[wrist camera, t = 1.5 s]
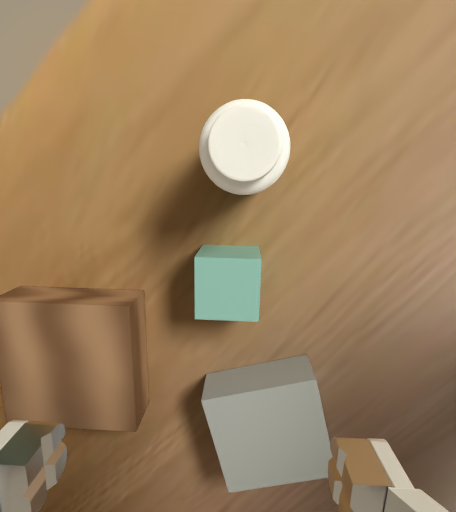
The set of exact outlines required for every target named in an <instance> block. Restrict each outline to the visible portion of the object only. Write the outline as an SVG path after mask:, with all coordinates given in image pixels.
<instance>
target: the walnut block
mask: <svg viewBox="0 0 456 512" xmlns="http://www.w3.org/2000/svg"><path fill="white" fill-rule="evenodd" d="M0 383H1V389H2V396H3V402H4V408H5V414H6V421H7V423H8V422H10V421H12V420H24V421H42V422H54V423H62V424H63V425H64V427H65V428H76V429H94V430H112V431H130V432H136V431H137V429H138V427H139V424H140V422H141V420H142V417H143V415H144V413H145V410H146V408H147V406H148V404H149V386H148V363H147V340H146V316H145V293H144V290H118V289H89V288H60V287H31V286H20V287H17V288H15V289H13V290H11V291H9V292H6V293H4V294H2V295H0Z"/></svg>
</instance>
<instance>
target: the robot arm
mask: <svg viewBox="0 0 456 512" xmlns="http://www.w3.org/2000/svg"><path fill="white" fill-rule="evenodd" d="M64 436H65V427H64V425H63V424H62V423H54V422H42V421H24V420H12V421H10V422H8V423H7V424H6V425H5V426H4V427H3V428H2V429H1V430H0V512H39V511H40V510H41V508H42V507H43V505H44V503H45V502H46V500H47V498H48V496H47V490H48V489H50V488H51V487H52V486H54V485H55V484H57V482H58V480H59V479H60V477H61V475H62V474H63V471H64V468H65V465H66V461H67V447H66V445H65V444H64V443H63V442H62V441H61V440H62V439H63V437H64ZM330 450H331V453H332V456H333V457H332V458H331V459H330V460H329V462H328V482H329V488H330V492H331V496H332V499H333V500H334V501H335V502H336V503H337V504H338V512H449V511H448V510H446V509H445V508H444V507H443V506H441V505H440V504H439V503H437V502H436V501H435V500H434V499H432V498H431V497H430V496H428V495H427V494H426V493H425V492H423V491H422V490H421V489H415V488H414V487H413V485H412V483H411V482H410V480H409V478H408V476H407V475H406V473H405V471H404V470H403V468H402V466H401V464H400V463H399V461H398V459H397V458H396V456H395V454H394V452H393V451H392V449H391V447H390V446H389V444H388V442H387V441H386V440H385V439H376V438H367V439H365V438H343V437H332V440H331V445H330Z"/></svg>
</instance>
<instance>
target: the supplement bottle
mask: <svg viewBox="0 0 456 512" xmlns="http://www.w3.org/2000/svg"><path fill="white" fill-rule="evenodd" d="M199 154H200V160H201V163H202V166H203V168H204V171H205V172H206V174H207V175H208V177H209V178H210V179H211V180H212V181H213V183H215V184H216V185H217V186H218V187H220V188H221V189H223V190H225V191H227V192H229V193H233V194H238V195H251V194H255V193H258V192H261V191H263V190H265V189H267V188H268V187H270V186H271V185H272V184H274V183H275V182H276V181H277V180H278V178H279V177H280V176H281V175H282V173H283V171H284V169H285V167H286V165H287V163H288V159H289V155H290V137H289V133H288V130H287V127H286V125H285V123H284V121H283V120H282V118H281V117H280V116H279V114H278V113H277V112H276V111H275V110H274V109H272V108H271V107H270V106H268V105H266V104H264V103H262V102H259V101H256V100H251V99H239V100H234V101H231V102H229V103H226V104H224V105H223V106H221V107H219V108H218V109H217V110H216V111H215V112H214V113H213V114H212V115H211V116H210V117H209V119H208V120H207V121H206V123H205V125H204V127H203V129H202V132H201V136H200V141H199Z"/></svg>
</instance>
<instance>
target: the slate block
mask: <svg viewBox="0 0 456 512" xmlns="http://www.w3.org/2000/svg"><path fill="white" fill-rule="evenodd" d="M201 402H202V405H203V409H204V412H205V415H206V419H207V422H208V425H209V428H210V432H211V435H212V438H213V442H214V445H215V448H216V452H217V455H218V458H219V462H220V465H221V468H222V472H223V475H224V478H225V482H226V485H227V488H228V491H229V493H231V492H238V491H244V490H251V489H257V488H264V487H270V486H277V485H284V484H290V483H297V482H303V481H310V480H316V479H323V478H328V462H329V460H330V459H331V458H332V457H333V456H332V453H331V450H330V441H329V437H328V432H327V427H326V423H325V418H324V413H323V408H322V404H321V399H320V394H319V390H318V385H317V380H316V377H315V374H314V372H313V369H312V366H311V363H310V361H309V358H308V355H301V356H296V357H291V358H286V359H281V360H276V361H270V362H265V363H260V364H255V365H250V366H245V367H239V368H234V369H229V370H224V371H219V372H214V373H208V374H206V379H205V384H204V389H203V394H202V399H201Z"/></svg>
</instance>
